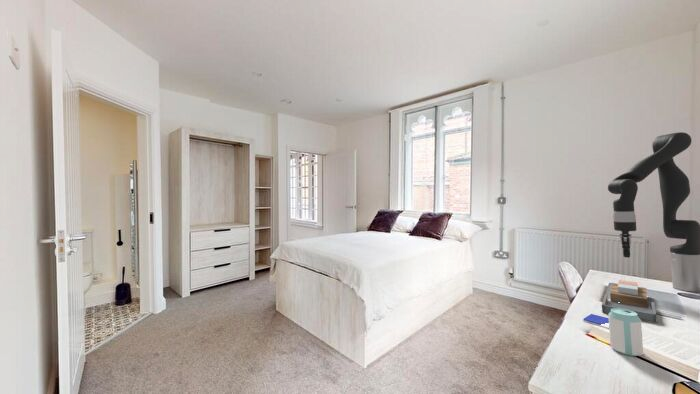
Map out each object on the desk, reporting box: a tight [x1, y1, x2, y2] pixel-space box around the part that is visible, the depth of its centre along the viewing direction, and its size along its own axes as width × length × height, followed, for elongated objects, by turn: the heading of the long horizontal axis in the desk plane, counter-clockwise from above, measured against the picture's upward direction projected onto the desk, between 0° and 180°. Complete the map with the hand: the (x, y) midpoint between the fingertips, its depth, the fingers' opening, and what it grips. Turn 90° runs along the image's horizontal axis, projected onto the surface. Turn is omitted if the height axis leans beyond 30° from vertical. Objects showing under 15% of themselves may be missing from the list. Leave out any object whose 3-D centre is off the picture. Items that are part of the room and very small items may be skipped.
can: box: [607, 308, 644, 357], centre depth 82 cm, size 7×7×12 cm
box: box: [601, 294, 658, 324], centre depth 109 cm, size 16×15×3 cm
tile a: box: [618, 279, 639, 287], centre depth 123 cm, size 6×6×2 cm
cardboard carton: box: [609, 282, 649, 308], centre depth 121 cm, size 18×11×4 cm, turn 133°
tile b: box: [617, 283, 639, 295], centre depth 119 cm, size 6×6×2 cm
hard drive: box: [582, 313, 609, 326], centre depth 99 cm, size 2×8×12 cm
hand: (626, 256), depth 129 cm, fingers open, 4 cm apart
